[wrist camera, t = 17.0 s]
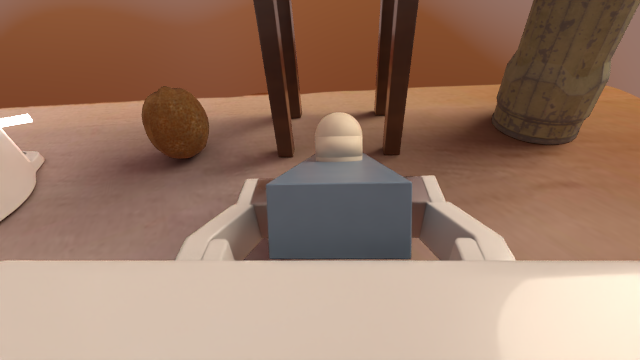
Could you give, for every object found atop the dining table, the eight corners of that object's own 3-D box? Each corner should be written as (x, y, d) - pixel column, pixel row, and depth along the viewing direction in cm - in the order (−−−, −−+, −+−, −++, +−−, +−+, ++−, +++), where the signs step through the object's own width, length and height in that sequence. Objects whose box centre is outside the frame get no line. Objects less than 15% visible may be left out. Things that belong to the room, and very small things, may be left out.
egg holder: (411, 259, 9) (414, 80, 9) (268, 259, 10) (260, 85, 9) (364, 180, 27) (364, 119, 26) (314, 181, 27) (313, 121, 27)
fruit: (227, 154, 35) (207, 84, 30) (173, 179, 31) (141, 106, 26) (201, 136, 38) (180, 71, 33) (151, 156, 35) (119, 88, 30)
